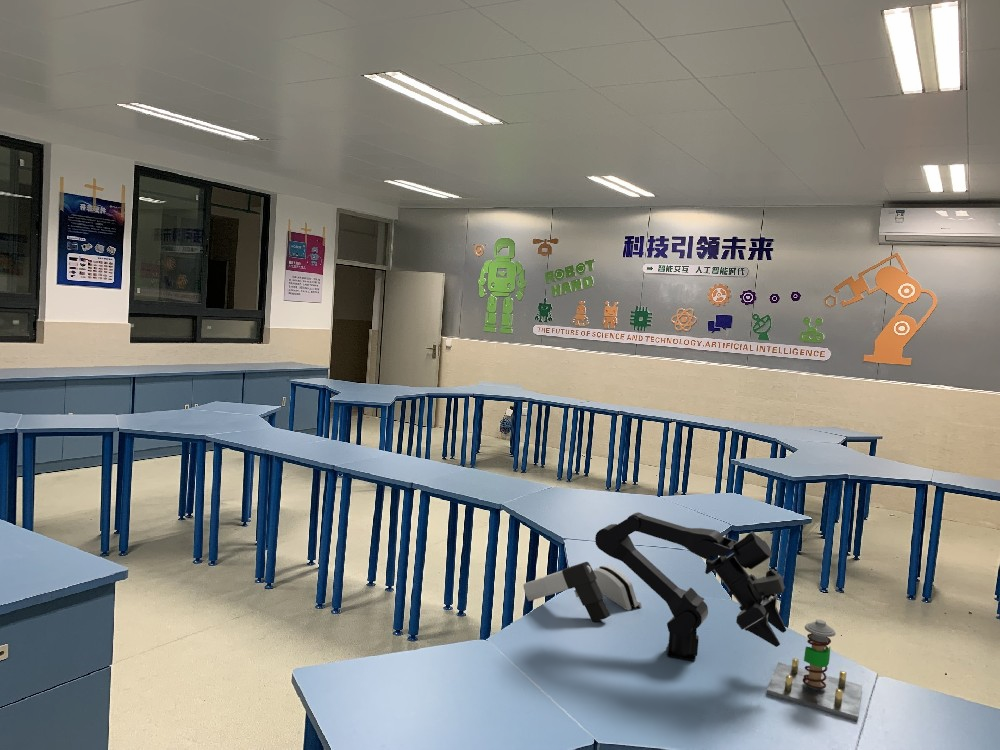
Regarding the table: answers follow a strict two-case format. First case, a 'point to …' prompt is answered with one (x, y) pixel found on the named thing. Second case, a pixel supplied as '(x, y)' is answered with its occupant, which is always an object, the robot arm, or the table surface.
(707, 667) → the table surface
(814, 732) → the table surface
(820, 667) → the shock absorber
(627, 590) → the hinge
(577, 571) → the handheld device
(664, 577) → the robot arm
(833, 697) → the plate
